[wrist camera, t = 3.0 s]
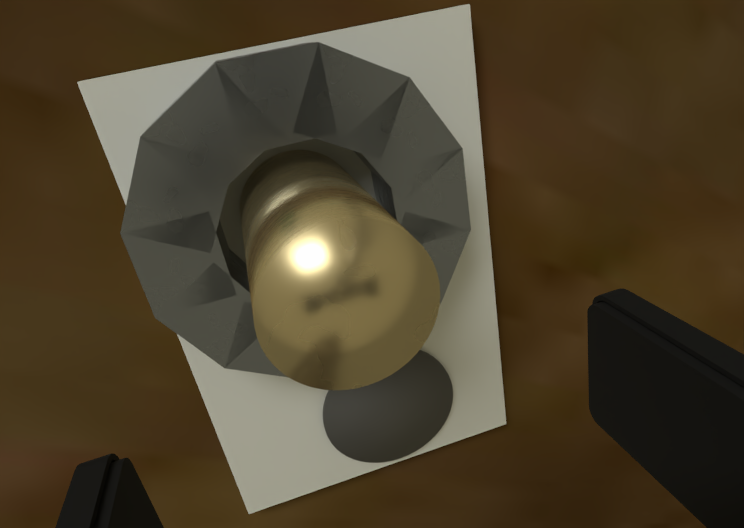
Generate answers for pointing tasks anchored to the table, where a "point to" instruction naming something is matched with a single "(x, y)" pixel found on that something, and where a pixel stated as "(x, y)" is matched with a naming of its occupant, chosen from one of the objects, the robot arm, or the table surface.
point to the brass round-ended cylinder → (332, 275)
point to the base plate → (460, 115)
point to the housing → (248, 141)
